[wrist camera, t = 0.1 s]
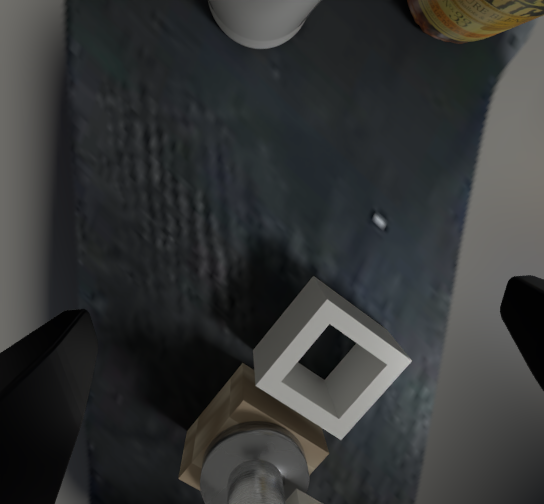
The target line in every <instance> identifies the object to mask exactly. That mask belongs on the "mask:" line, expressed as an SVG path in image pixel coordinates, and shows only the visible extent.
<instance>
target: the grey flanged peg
mask: <svg viewBox="0 0 544 504" xmlns="http://www.w3.org/2000/svg"><path fill="white" fill-rule="evenodd" d="M308 486H309V471H308V466H307V461H306V457H305V452H304V449H303V447H302V445H301V443H300V441H299V440H298V439H297V438H296V436H295V435H294V434H292V433H291V432H290V431H289V430H287V429H286V428H284V427H282V426H280V425H277V424H274V423H270V422H264V421H250V422H244V423H240V424H237V425H234V426H232V427H229V428H227V429H226V430H224V431H223V432H221V433H220V434H219V435H217V436H216V437H215V438H214V439H213V440H212V441H211V443H210V444H209V446H208V447H207V449H206V451H205V454H204V456H203V461H202V468H201V476H200V491H201V495H202V498H203V500H204V502H205V504H286V503H285V501H286V500H287V499H288V497H289V496H290V495H291V494H292V493H293V492H294V491H295V490H296V488H297V489H298V490H300V491H302V492H303V493H305V494H306V493H307V490H308Z"/></svg>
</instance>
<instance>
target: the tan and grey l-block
mask: <svg viewBox="0 0 544 504" xmlns="http://www.w3.org/2000/svg"><path fill="white" fill-rule="evenodd" d="M285 503H286V504H322V503H321V502H319V501H317V500H316V499H314V498H312V497H310V496H309V495H307V494H305V493H303V492H302V491H300V490H298V489H297V488H296V490H295V491H294V492H293V493H292V494H291V495H290V496H289V497H288V499H287V500H286V501H285Z"/></svg>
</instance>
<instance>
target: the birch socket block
mask: <svg viewBox="0 0 544 504" xmlns="http://www.w3.org/2000/svg"><path fill="white" fill-rule="evenodd" d="M250 421H264V422H270V423H274V424H277V425H280V426H282V427H284V428H286V429H287V430H289V431H290V432H291V433H292V434H294V435H295V436H296V438H297V439H298V440H299V441H300V443H301V445H302V447H303V449H304V452H305V457H306V461H307V466H308V471H309V475H310V474H311V473H312V472H313V471H314V470H315V469H316V467H317V466H318V465H319V464H320V463H321V462H322V461H323V460H324V458H325V457H326V456H327V455H328V454H329V452H328V448H327V445H326V441H325V438H324V435H323V431H322V428H321V427H320V426H318V425H317V424H315V423H313V422H312V421H310V420H309V419H307V418H306V417H304V416H302V415H301V414H299V413H298V412H296V411H295V410H293V409H291V408H290V407H288V406H287V405H285V404H283V403H282V402H280V401H279V400H277V399H276V398H274V397H272V396H271V395H269V394H268V393H266V392H265V391H263V390H261V389H260V388H258V387H257V386H255V372H254V370H253V369H252V368H250V367H248V366H247V365H245V364H244V363H242V364H241V366H240V367H239V368H238V369H237V371H236V372H235V373H234V374H233V375H232V377H231V378H230V379H229V380H228V382H227V383H226V384H225V385H224V387H223V388H222V389H221V390H220V391H219V393H218V394H217V395H216V396H215V398H214V399H213V400H212V401H211V403H210V404H209V405H208V406H207V407H206V409H205V410H204V411H203V412H202V414H201V415H200V416H199V417H198V419H197V420H196V421H195V422H194V423H193V425H192V426H191V427H190V428H189V430H188V431H187V435H186V440H185V446H184V451H183V457H182V462H181V468H180V473H179V478H178V479H180V480H182V481H184V482H185V483H187V484H189V485H191V486H193V487H195V488H196V489H198V490H200V476H201V468H202V461H203V456H204V454H205V451H206V449H207V447H208V446H209V444H210V443H211V441H212V440H213V439H214V438H215V437H216V436H217V435H219V434H220V433H221V432H223V431H224V430H226V429H227V428H229V427H232V426H234V425H237V424H240V423H244V422H250Z"/></svg>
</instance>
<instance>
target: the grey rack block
mask: <svg viewBox="0 0 544 504" xmlns="http://www.w3.org/2000/svg"><path fill="white" fill-rule="evenodd" d="M329 324H331V325H332V326H333V327H335V328H336V329H338V330H339V331H340V332H342V333H343V334H345V335H346V336H347V337H349V338H350V339H352V340H353V341H354V342H356V344H355V345H354V346H353V348H352V349H351V350H350V351H349V352H348V353H347V355H346V356H345V357H344V358H343V359H342V360H341V361H340V363H339V364H338V365H337V366H336V367H335V368H334V370H333V371H332V372H331V373H330V374H329V375H328V377H327V378H326V379H325V380H324V379H322V378H321V377H319V376H318V375H316V374H315V373H313V372H312V371H310V370H309V369H307V368H306V367H304V366H303V365H301V364H300V363H298V361H299V360H300V359H301V357H302V356H303V355H304V354H305V353H306V351H307V350H308V349H309V348H310V347H311V346H312V344H313V343H314V342H315V341H316V340H317V338H318V337H319V336H320V335H321V334H322V332H323V331H324V330H325V329H326V328H327V326H328V325H329ZM253 357H254V372H255V386H257V387H258V388H260V389H261V390H263V391H265V392H266V393H268V394H269V395H271V396H272V397H274V398H276V399H277V400H279V401H280V402H282V403H283V404H285V405H287V406H288V407H290V408H291V409H293V410H295V411H296V412H298V413H299V414H301V415H302V416H304V417H306V418H307V419H309V420H310V421H312V422H313V423H315V424H317V425H318V426H320V427H321V428H323V429H324V430H326V431H328V432H329V433H331V434H332V435H334V436H335V437H337V438H339V439H340V440H342V438H343V437H344V436H345V435H346V434H347V433H348V432H349V431H350V430H351V428H352V427H353V426H354V425H355V424H356V423H357V422H358V421H359V419H360V418H361V417H362V416H363V415H364V414H365V413H366V412H367V411H368V409H369V408H370V407H371V406H372V405H373V404H374V403H375V402H376V401H377V399H378V398H379V397H380V396H381V395H382V394H383V393H384V392H385V390H386V389H387V388H388V387H389V386H390V385H391V384H392V383H393V382H394V380H395V379H396V378H397V377H398V376H399V375H400V374H401V373H402V372H403V370H404V369H405V368H406V367H407V366H408V365H409V364H410V363H411V362H412V360H411V359H410V358H409V356H408V355H407V354H406V353H405V352H404V350H403V349H402V348H401V347H400V345H399V344H398V343H397V342H396V341H395V339H394V338H393V337H392V336H391V334H390V333H389V332H388V331H387V330H386V329H385V328H384V327H382V326H381V325H380V324H378V323H377V322H376V321H374V320H373V319H371V318H370V317H369V316H367V315H366V314H365V313H363V312H362V311H361V310H359V309H358V308H357V307H355V306H354V305H352V304H351V303H350V302H348V301H347V300H346V299H344V298H343V297H342V296H340V295H339V294H338V293H336V292H335V291H333V290H332V289H331V288H329V287H328V286H327V285H325V284H324V283H323V282H321V281H320V280H318V279H317V278H316V277H314V276H313V277H312V278H311V279H310V281H309V282H308V283H307V284H306V286H305V287H304V288H303V289H302V291H301V292H300V293H299V294H298V295H297V297H296V298H295V299H294V300H293V302H292V303H291V304H290V305H289V307H288V308H287V309H286V310H285V311H284V313H283V314H282V315H281V316H280V318H279V319H278V320H277V321H276V323H275V324H274V325H273V326H272V327H271V329H270V330H269V331H268V332H267V334H266V335H265V336H264V337H263V339H262V340H261V341H260V342H259V343H258V345H257V346H256V347H255V348H254V350H253Z"/></svg>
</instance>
